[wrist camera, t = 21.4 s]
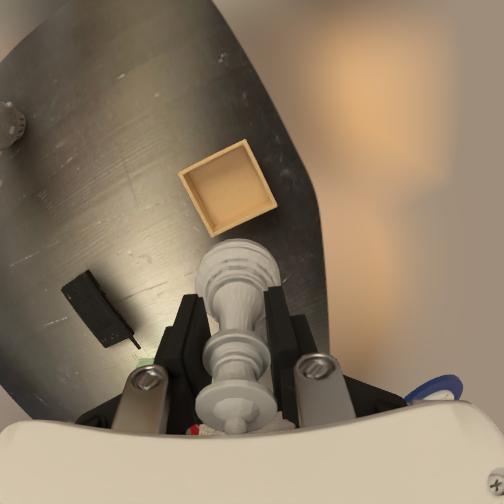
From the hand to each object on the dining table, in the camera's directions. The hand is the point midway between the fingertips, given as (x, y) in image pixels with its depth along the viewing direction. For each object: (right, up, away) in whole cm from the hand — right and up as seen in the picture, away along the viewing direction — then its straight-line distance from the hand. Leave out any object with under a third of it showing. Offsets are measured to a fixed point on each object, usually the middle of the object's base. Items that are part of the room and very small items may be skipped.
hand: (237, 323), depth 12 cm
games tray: (-2, +10, +20) cm, 22 cm away
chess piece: (0, +2, +4) cm, 5 cm away
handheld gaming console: (-19, -4, +24) cm, 31 cm away
